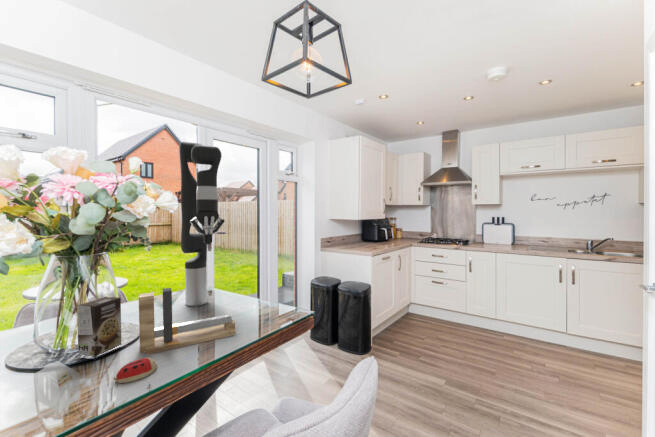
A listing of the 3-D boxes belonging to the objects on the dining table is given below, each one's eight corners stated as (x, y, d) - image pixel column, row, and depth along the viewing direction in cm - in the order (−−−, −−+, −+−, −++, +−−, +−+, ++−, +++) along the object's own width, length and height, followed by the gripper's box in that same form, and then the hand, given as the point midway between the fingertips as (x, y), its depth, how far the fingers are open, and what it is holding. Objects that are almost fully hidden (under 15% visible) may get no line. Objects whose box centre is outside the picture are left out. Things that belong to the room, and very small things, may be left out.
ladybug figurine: (162, 371, 81) (161, 358, 80) (120, 389, 72) (120, 375, 72) (150, 364, 84) (149, 351, 84) (109, 380, 76) (109, 367, 76)
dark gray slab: (163, 336, 98) (162, 288, 97) (171, 335, 99) (170, 287, 98) (164, 342, 93) (163, 291, 93) (172, 340, 95) (171, 290, 94)
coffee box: (95, 361, 86) (93, 306, 85) (77, 358, 87) (75, 304, 86) (122, 346, 94) (121, 297, 94) (106, 344, 96) (105, 296, 95)
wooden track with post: (140, 344, 96) (139, 292, 95) (230, 325, 111) (230, 280, 111) (139, 356, 88) (138, 299, 88) (237, 334, 104) (236, 286, 103)
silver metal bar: (147, 337, 94) (147, 329, 94) (230, 320, 108) (229, 313, 108) (147, 340, 92) (147, 331, 92) (231, 322, 106) (231, 315, 106)
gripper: (220, 199, 118) (221, 242, 119) (185, 198, 110) (186, 244, 110) (228, 198, 113) (228, 243, 113) (192, 197, 104) (192, 246, 105)
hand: (207, 244), depth 112 cm, fingers closed
